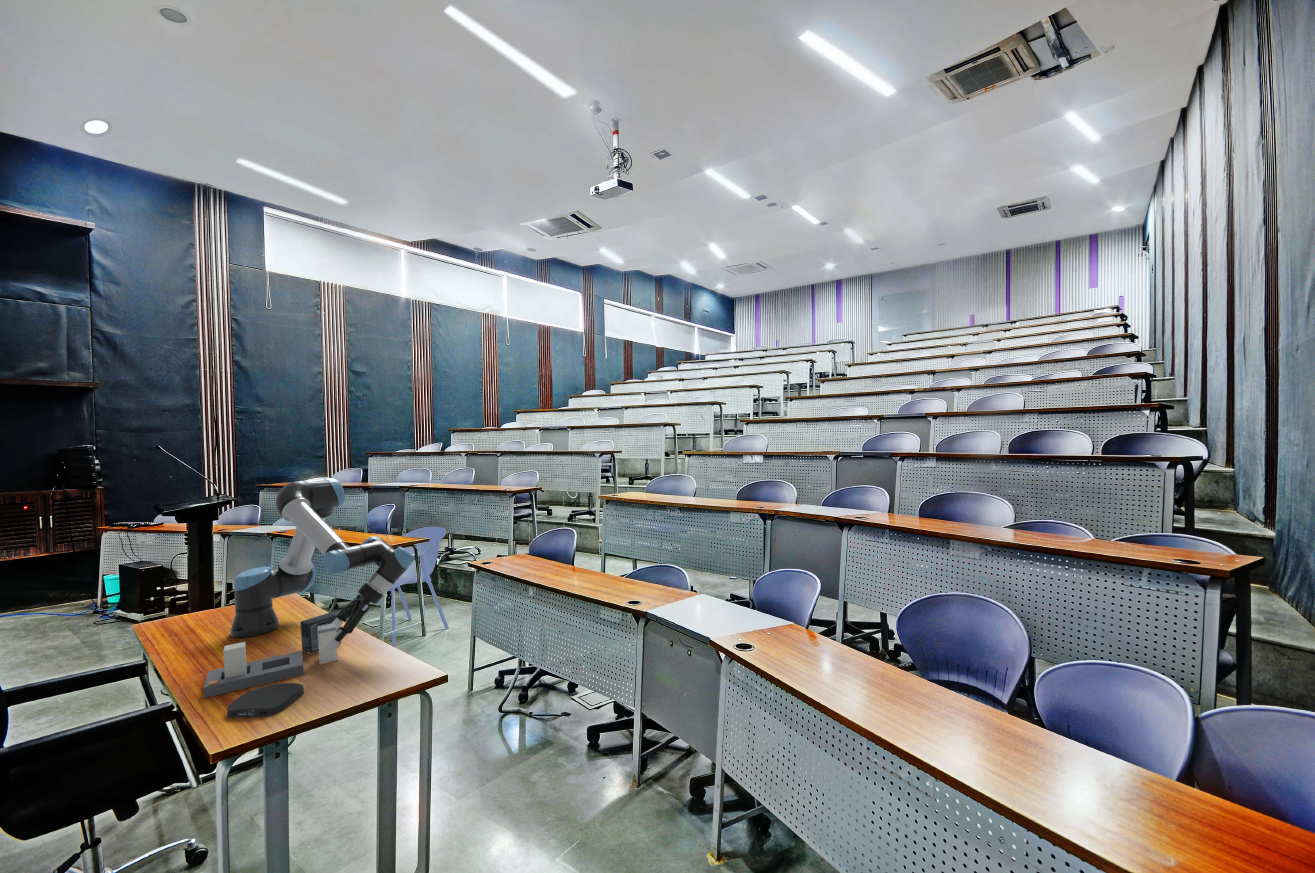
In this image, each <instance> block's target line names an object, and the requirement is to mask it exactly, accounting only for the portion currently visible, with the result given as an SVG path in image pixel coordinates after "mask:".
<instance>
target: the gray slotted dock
mask: <svg viewBox="0 0 1315 873" xmlns="http://www.w3.org/2000/svg"><path fill="white" fill-rule="evenodd" d="M246 646H247V645H246V641H243V642H238V643H232V644H228V645H224V648H223V667H220V668H217V669H211V670H208V671H207V675H206V679H205V682H204V684H203V687H202V688H203V699H206V698H210V697H215V696H218V695H222V694H227V693H231V692H236V691H239V690H244V689H248V688H251V687H252V688H253V687H257V686H259V685H265V684H268V683H274V682H277V681H281V680H285V679H290V678H294V677H298V676H303V675H304V674H305V671H304V659H303V651H302V650H299V651H294V652H290V653H285V654H280V655H276V656H270V657H267V658H263V659H262V658H261V659H257V660H254V661H248V662H247V650H246V648H247V647H246Z"/></svg>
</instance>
